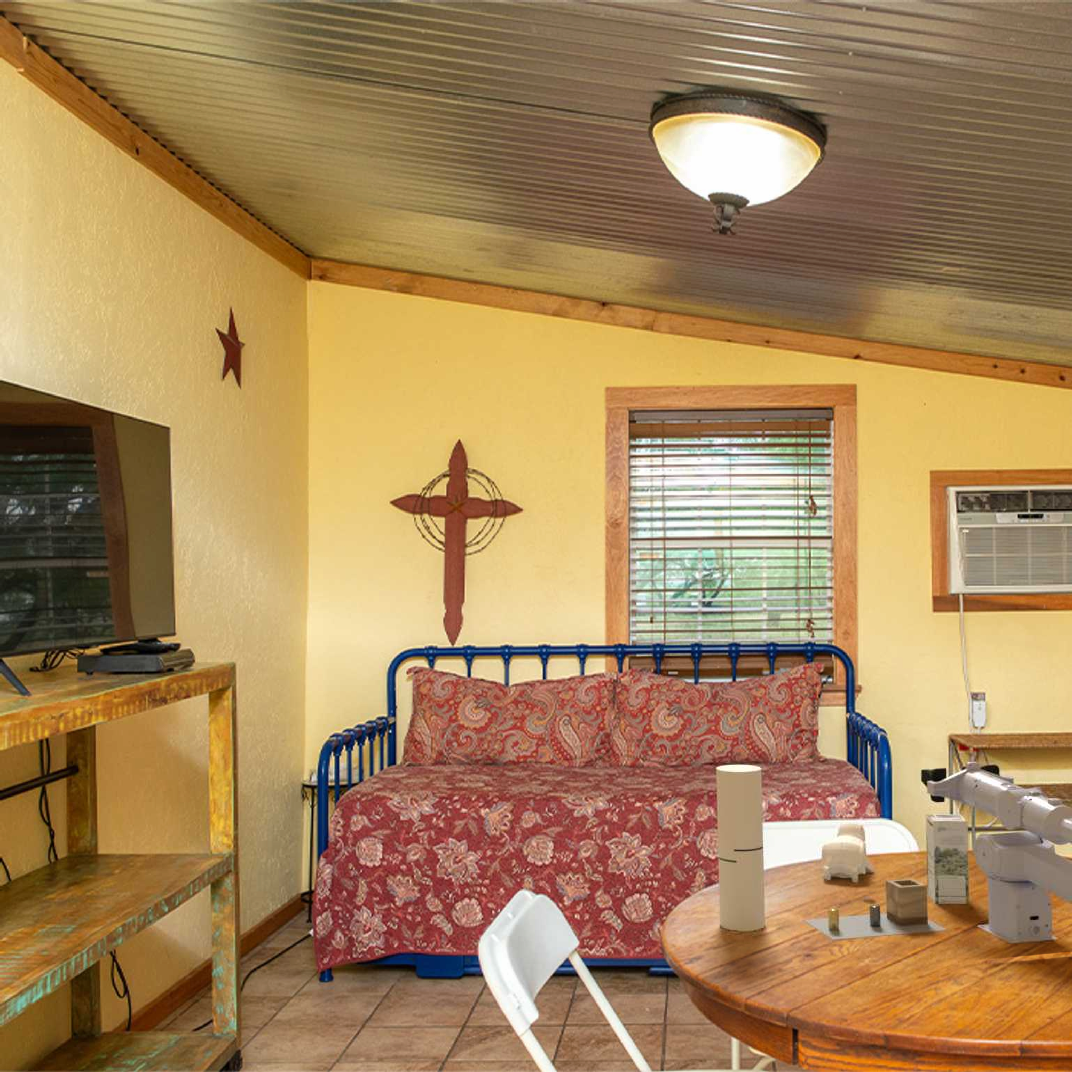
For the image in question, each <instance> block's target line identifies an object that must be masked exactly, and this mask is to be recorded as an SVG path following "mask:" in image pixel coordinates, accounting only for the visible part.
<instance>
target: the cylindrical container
mask: <svg viewBox="0 0 1072 1072" xmlns="http://www.w3.org/2000/svg"><path fill="white" fill-rule="evenodd" d="M715 775H716V806H717V807H716V808H717V809H716V811H717V815H716V816H717V845H718V846H717V848H718V849H717V850H718V851H717V854H718V856H717V857H718V858H717V859H718V895H719V896H718V897H719V901H718V902H719V925H721V926H722V929H725V928H727V929H726V930H728V929H729V931H733V930H738V931H737V932H755V931H754V930H756V931H759V929H760V930H762V929H764V928H765V927H766V911H765V910H766V909H765V908H766V906H765V899H766V898H765V874H764V873H765V868H764V867H765V866H764V865H765V864H764V861H765V860H764V833H763V832H764V831H763V830H764V828H763V827H764V825H763V824H764V823H763V819H764V818H763V787H762V785H763V784H762V783H763V782H762V768H761V767H760V766H756V765H751V764H725V765H719V766H717V767H716V771H715ZM721 926H720V927H721ZM764 926H765V927H764ZM761 928H762V929H761Z"/></svg>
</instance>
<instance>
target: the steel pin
mask: <svg viewBox="0 0 1072 1072" xmlns="http://www.w3.org/2000/svg"><path fill="white" fill-rule="evenodd" d="M869 914H870V926H872V927H880V926H881V921H880V914H881V906H880V905H879V904H878V905H877V904H871V905H869Z"/></svg>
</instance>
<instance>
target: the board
mask: <svg viewBox="0 0 1072 1072" xmlns="http://www.w3.org/2000/svg"><path fill="white" fill-rule="evenodd" d="M802 921H804V923H806V924H808V925H809V926H811V927H813V928H814V929H815V930H818V932H820V933H822V935H825V936H826V937H828V938H829V939H831V940H832V941H839V940H849V939H861V938H862V939H863V938H871V937H872V938H873V937H884V936H898V935H908V934H919V933H920V934H921V933H929V932H942V931H944V932H945V931H948V929H946V928H944V927H942V926H941V925H939V924H937V923H935V922H934V921H932V920H929V919H928V924H921V925H909V926H900V925H898V924H896V923H895V922H893V921H891V920H889V919H887V912H886V913H885V912H884V913H880V921H881V926H880V927H872V926H870V913H869V914H860V915H846V916H839V930H837V931H832V930H829V924H828V917H822V918H811V919H810V918H809V919H802Z"/></svg>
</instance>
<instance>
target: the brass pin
mask: <svg viewBox="0 0 1072 1072" xmlns="http://www.w3.org/2000/svg"><path fill="white" fill-rule="evenodd" d="M827 910H828V911H827V915H828V916H827V918H828V924H829V930H832V931H837V930H839V917H840V915H839V914H840V912H839V908H828V909H827Z"/></svg>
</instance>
